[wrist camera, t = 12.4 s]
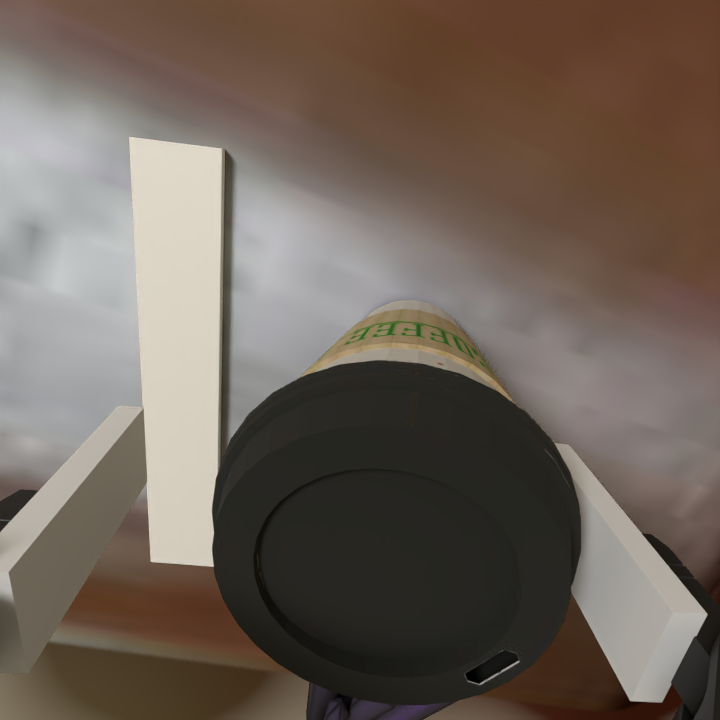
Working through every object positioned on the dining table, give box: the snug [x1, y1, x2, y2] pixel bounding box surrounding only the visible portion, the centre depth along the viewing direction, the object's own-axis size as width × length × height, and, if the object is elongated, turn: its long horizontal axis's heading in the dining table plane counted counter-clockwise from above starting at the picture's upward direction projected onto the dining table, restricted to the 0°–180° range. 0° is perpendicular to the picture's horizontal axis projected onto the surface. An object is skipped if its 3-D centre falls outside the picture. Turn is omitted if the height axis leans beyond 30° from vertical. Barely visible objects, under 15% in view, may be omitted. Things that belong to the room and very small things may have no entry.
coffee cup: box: [212, 300, 581, 705], centre depth 18 cm, size 10×10×15 cm
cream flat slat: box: [129, 137, 225, 567], centre depth 26 cm, size 4×24×1 cm, turn 173°
